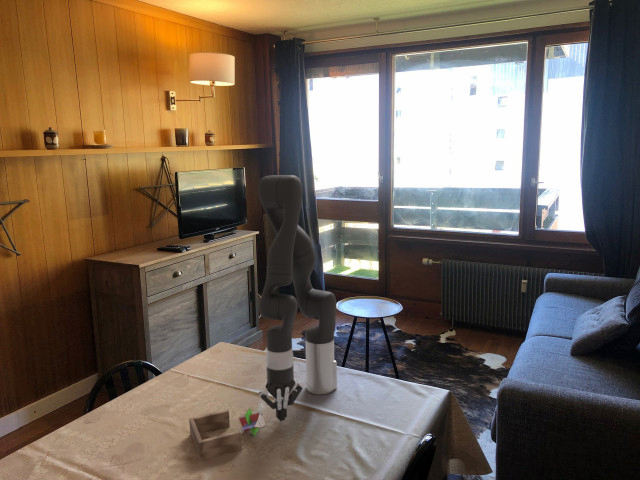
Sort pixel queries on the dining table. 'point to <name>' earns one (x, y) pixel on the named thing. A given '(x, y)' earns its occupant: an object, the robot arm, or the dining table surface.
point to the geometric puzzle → (252, 422)
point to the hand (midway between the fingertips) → (281, 419)
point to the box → (214, 444)
